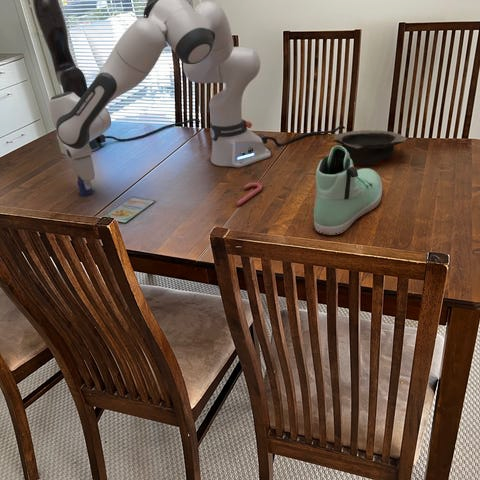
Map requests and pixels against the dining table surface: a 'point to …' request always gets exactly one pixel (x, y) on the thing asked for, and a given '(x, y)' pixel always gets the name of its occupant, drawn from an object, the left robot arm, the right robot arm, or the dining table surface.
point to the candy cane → (250, 192)
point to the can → (83, 189)
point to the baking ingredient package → (129, 209)
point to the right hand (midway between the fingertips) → (84, 184)
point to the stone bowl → (369, 145)
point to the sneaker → (343, 192)
